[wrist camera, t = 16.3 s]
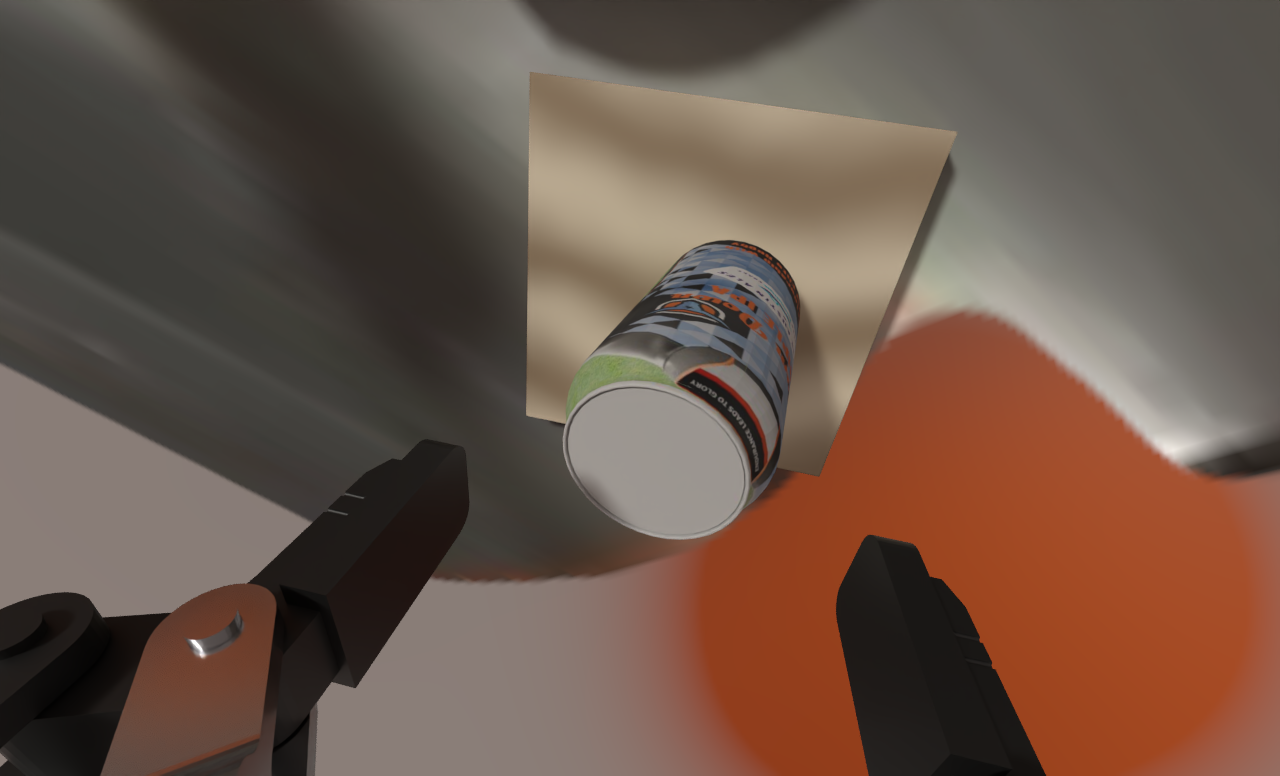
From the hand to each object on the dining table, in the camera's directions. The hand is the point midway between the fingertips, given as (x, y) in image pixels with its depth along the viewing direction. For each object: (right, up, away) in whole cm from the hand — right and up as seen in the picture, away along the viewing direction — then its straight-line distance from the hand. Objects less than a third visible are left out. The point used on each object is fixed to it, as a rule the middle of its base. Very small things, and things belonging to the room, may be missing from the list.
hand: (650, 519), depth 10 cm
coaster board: (+3, +7, +13) cm, 16 cm away
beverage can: (+3, +6, +12) cm, 14 cm away
